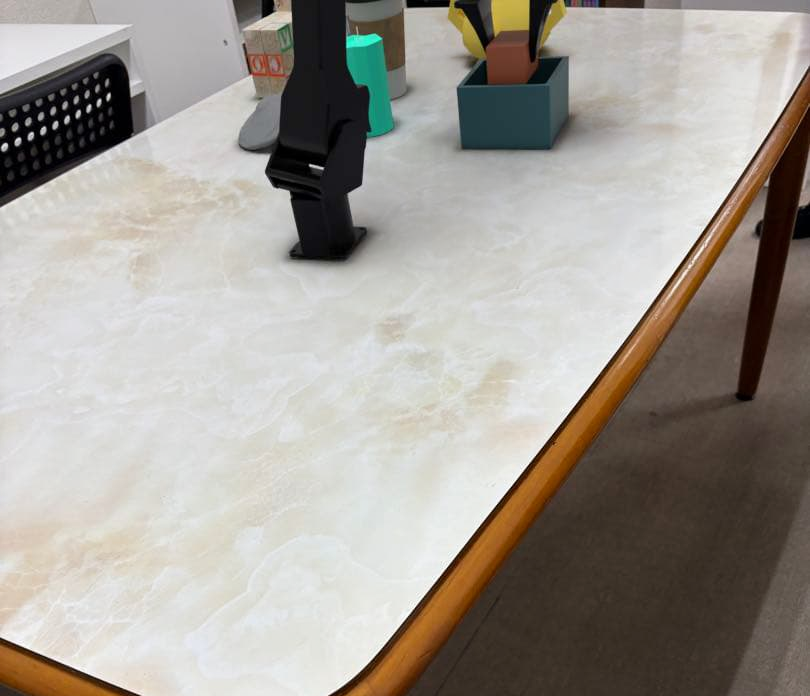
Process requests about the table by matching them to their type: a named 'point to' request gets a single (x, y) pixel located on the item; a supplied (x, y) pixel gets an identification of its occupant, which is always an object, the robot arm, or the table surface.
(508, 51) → the reddish brown block
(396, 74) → the coffee cup
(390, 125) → the candle
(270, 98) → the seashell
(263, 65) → the stack of blocks
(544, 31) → the teapot
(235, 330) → the table surface
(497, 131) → the open box
